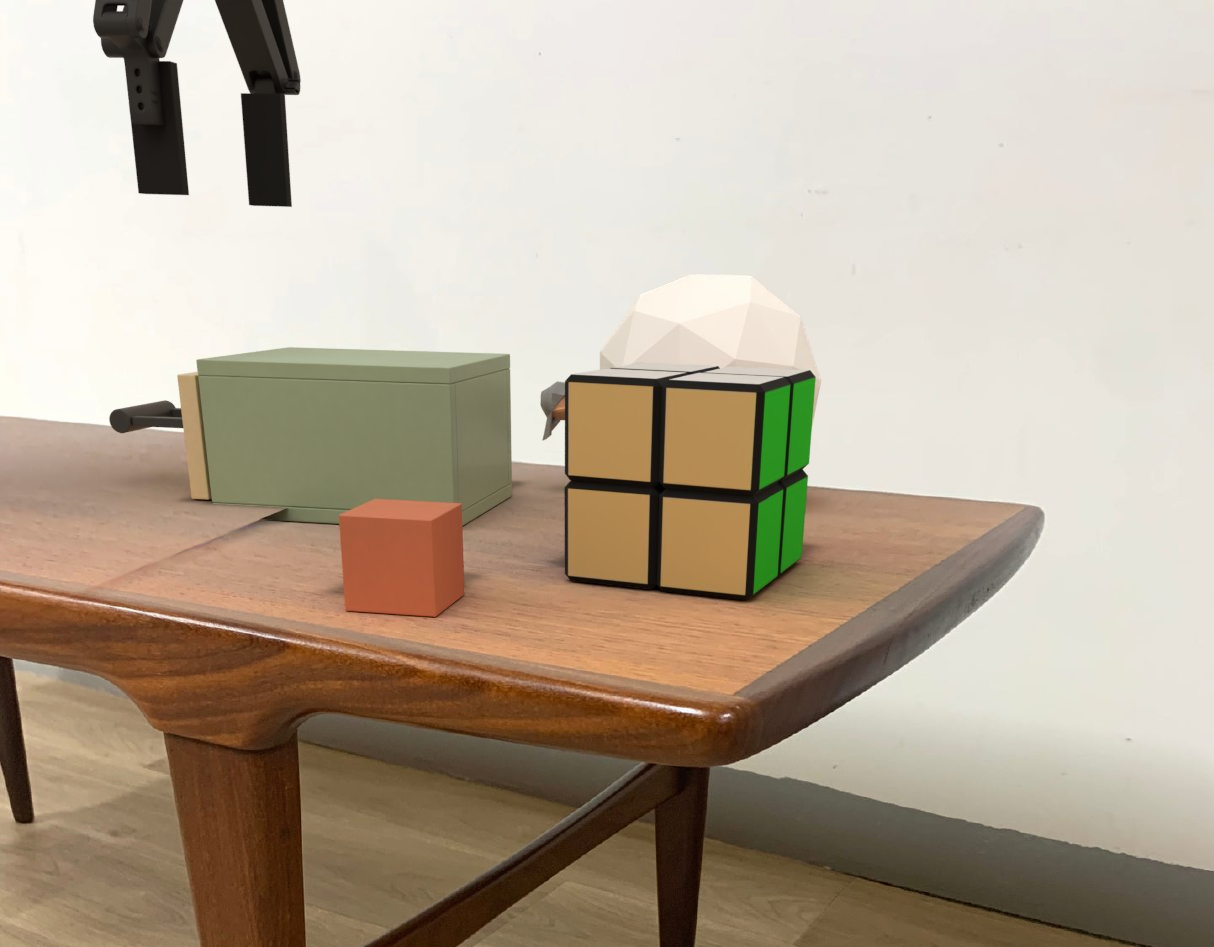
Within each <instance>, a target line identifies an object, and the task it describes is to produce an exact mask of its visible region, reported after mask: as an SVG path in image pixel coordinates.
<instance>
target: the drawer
mask: <svg viewBox="0 0 1214 947" xmlns="http://www.w3.org/2000/svg"><path fill="white" fill-rule="evenodd" d="M198 376H199V375H198V371H193V372H187V373H179V374H177V386H178V395H179V402H180V407H176V405H175V404H173V402H172V401H169V400H166V399H165V400H159V401H154V402H148V403H143V404H138V405H132V406H128V407H122V408H116V409H114V410H112V411H111V412H110V415H109V418H108V420H109V424H110V426H111V428H112V429H113V431H115V432H116V433H119V434H127V433H131V432H135V431H141V430H145V429H150V428H166V429H183V438H184V446H185V454H186V463H187V471H188V480H189V488H190V495H191V496H190V497H191V499H192V500H212V496H211V487H210V478H209V469H208V460H207V451H206V442H205V433H204V424H203V415H202V406H201V396H200V387H199V378H198Z"/></svg>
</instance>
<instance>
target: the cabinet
mask: <svg viewBox="0 0 1214 947" xmlns="http://www.w3.org/2000/svg"><path fill="white" fill-rule="evenodd" d="M195 361H196V370H197V371H196V372H198V375H199V376H198V378H199V387H200V396H201V406H202V415H203V424H204V433H205V442H206V451H207V460H208V469H209V478H210V487H211V496H212V499H211V502H212V504H213V505H214V504H215V505H231V506H232V505H233V506H250V507H267V508H268V507H269V508H284V509H282V510H279V511H276V512H273V513H271V514H269V515H266V516H264V517H262V518H259V519H258V520H261V521H278V522H279V521H280V522H293V523H294V522H296V523H314V524H329V525H331V524H332V525H339V515H340V514H342V513H345V512H347V511H349V510H351V509H353V508H356V507H358V506H360V505H362V504H365V503H367V502H369V501H371V500H373V499H388V500H407V501H426V502H445V503H461V504H462V527H464V526H465V525H466V524H468V523H470V522H472V521H473V520H474V519H476V518H479V517H480V516H482V515H483V514H485V513H486V512H488V511H489V510H491V509H493V508H494V507H496V506H498V505H499V504H501V503H503V502H505V501H506V500H508V499H509V498H511V497H512V496H513V484H512V483H513V470H512V468H513V466H512V460H513V458H512V403H511V402H512V400H511V399H512V397H511V354H510V353H492V352H490V353H489V352H460V351H459V352H455V351H426V350H425V351H423V350H392V349H390V350H388V349H360V348H357V349H356V348H326V347H325V348H323V347H293V346H291V347H290V346H288V347H281V348H273V349H266V350H258V351H257V350H256V351H251V352H243V353H236V354H228V355H227V354H226V355H220V356H212V357H204V358H197V359H196V360H195Z"/></svg>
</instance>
